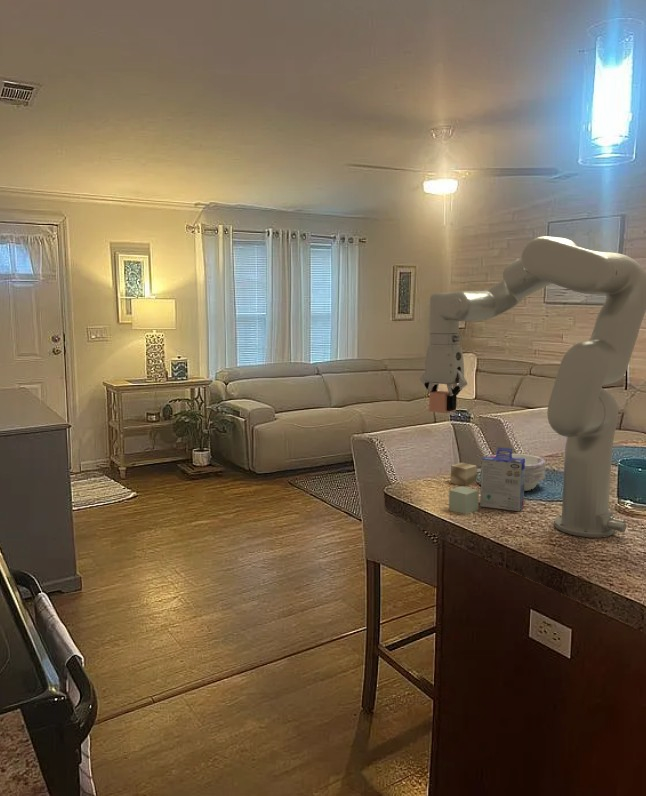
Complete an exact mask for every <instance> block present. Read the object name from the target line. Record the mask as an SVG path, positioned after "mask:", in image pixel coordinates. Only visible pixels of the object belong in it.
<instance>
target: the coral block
mask: <svg viewBox="0 0 646 796" xmlns="http://www.w3.org/2000/svg"><path fill="white" fill-rule="evenodd" d="M428 394H429V396H428V397H429V398H428V400H429V401H428V402H429V406H428V407H429V408H428V411H429V412H431V413H432V412H433V413H438V414H439V413H440V414H448V413H452V412H453V413H454V412H456V411H457V409H456V410H452V411H447V396H449V393H448V390H447V391H446V390H437V391H436V392H429V393H428Z"/></svg>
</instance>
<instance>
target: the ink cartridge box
mask: <svg viewBox="0 0 646 796" xmlns="http://www.w3.org/2000/svg"><path fill="white" fill-rule="evenodd" d="M500 452H508V453H500ZM512 454H513V448H507V447H497V450H496V453H495V455H496V456H493V455H485V456H484V457H483V458H482V459H481V470H480V471H481V472H480V473H481V475H480V476H481V477H480V502H479V506H480V507H483V508H484V507H485V508H491V509H499V510H507V511H516V512H521V510H522V509H523V508H524V503H525V501H524V500H525V498H524V497H525V491H524V480H525V458H513V457H512Z"/></svg>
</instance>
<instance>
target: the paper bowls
mask: <svg viewBox="0 0 646 796" xmlns="http://www.w3.org/2000/svg"><path fill="white" fill-rule="evenodd" d="M492 456H496V454H494V455H492ZM512 457H513V458H525V480H524V492H527V491H528V492H529V491H531V489H532V490H534V489H535V488H536V487H537V485H538V483H539V482H541V481H544V480H545V478H546V465H547V464H546V460H545V459H544V458H543V457H539V456H536V455H531V454H527V453H525V454H523V453H512Z"/></svg>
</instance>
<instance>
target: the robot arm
mask: <svg viewBox="0 0 646 796" xmlns="http://www.w3.org/2000/svg"><path fill="white" fill-rule="evenodd" d="M552 284H553V285H556V286H558V287H561V288H565V289H566V290H570V291H573V292H576V293H578V294H579V293H580V294H584V295H605V296H606V297H605V301H604V304H603V305H602V306H601V309H600V310H599V312H598V314H597V316H596V319H595V323H594V327H593V330H592V332H591V335H590V337H589V340H585V341H582V342H578V343H575V344H574V345H573V346H570V348H569V349H568V350H567V351H566V352H565V354H564V355H563V357H562V359H561V361H560V364H559V367H558V370H557V374H556V378H555V381H554V384H553V387H552V390H551V393H550V397H549V401H548V405H547V410H546V411H547V413H546V414H547V420H548V424H549V425H550V428H551V429H552V430H553V431H554V432H555V433H557V434H558V435H559V436H563V437H567V438H566V442H565V449H564V462H563V463H564V464H563V483H562V499H561V500H562V505H561V515H558V516H556V517H555V518H554V519H553V520H554V521H553V525H554V527H555V528H556V529H558V530H559V531H561V532H563V533H566V534H568V535H572V536H576V537H582V538H594V539H595V538H598V539H599V538H606V537H610V536H612V535H614V534H615V532H616V531H618V532H620V533H625V532H626V529H627V524H626V520H624V519H620V518H615V516H614V510H610V509H609V508H610V506H609V505H610V491H611V490H610V489H611V473H612V460H613V447H614V446H613V445H614V438H615V433H616V429H617V425H618V419H619V405H618V402H617V399H616V398H615V396H614V395H613V394H612V393H611V392H609V391H608V390H606V389H604V388H603V386H606V385H607V386H608V385H611V384H614V383H616V382H618V381H619V380H621V379H622V378H623V377H624V376H625V374H626V372H627V370H628V367H629V365H630V360H631V358H632V354H633V351H634V348H635V345H636V343H637V339H638V336H639V331H640V328H641V326H642V322H643V320H644V317H645V314H646V270H645V269H644V268H643V267H642V265H641V264H640V263H639V262H638V261H636V260H635V259H634V258H632V257H630V256H628V255H625V254H622V253H618V252H609V251H598V250H591V249H586V248H584V247H580V246H578V245H577V244H576V243H575V242H574V241H573V240H571V239H568V238H564V237H558V236H550V235H549V236H548V235H545V236H544V235H543V236H538V237H536V238H533V239H532V240H530V241H529V242H528V243H526V245H525V246H524V248H523V250H522V252H521V257H520V258H517V259H515V260H514V261H512V262H511V263H508V264H507V265H506V266H505V267H504V268H503V272H502V280H501V281H499V282H498V283H496V284H495V285H492V286H491V287H489V288H486V289H484V290H459V291H452V292H451V291H450V292H447V291H446V292H445V291H443V292H434V293H432V294H431V295H430V297H429V328H428V329H429V332H428V333H429V336H428V338H429V341H428V344H427V346H426V347H427V348H426V350H425V351H426V352H425V360H424V371H423V374H422V376H421V377H420V382H421V383H422V384H423V385H424V388H425V389H426V390H427V393H428V394H429V392H436V391H439V390H438V389H439V386H440V384H441V385H446V386H447V391H448V393H449V396H447V411H452V410H456V411H457V397H458V395H459V394H460V392H461V391H462V390H463V389H464V388H465V387H466V386H468V381H467V379H466V378H465V364H464V363H465V362H464V353H463V348H462V346H461V345H459V344H460V343H459V342H462V341H463V340H462V336H459V331H460V330H459V328H460V327H459V326H460V322H474V321H475V322H476V321H480V322H481V321H487V320H490V319H493V318H495V317H498V316H499V315H502V314H503V313H505V312H508V311H509V310H511V309H513V308H514V307H516V306H518V304H520V303H521V302H522V301H523V299H524V298H526V297H528V296H529V295H532V294H534V293H535V292H537V291H540V290H541V289H543V288H546V287H548V286H550V285H552Z"/></svg>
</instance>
